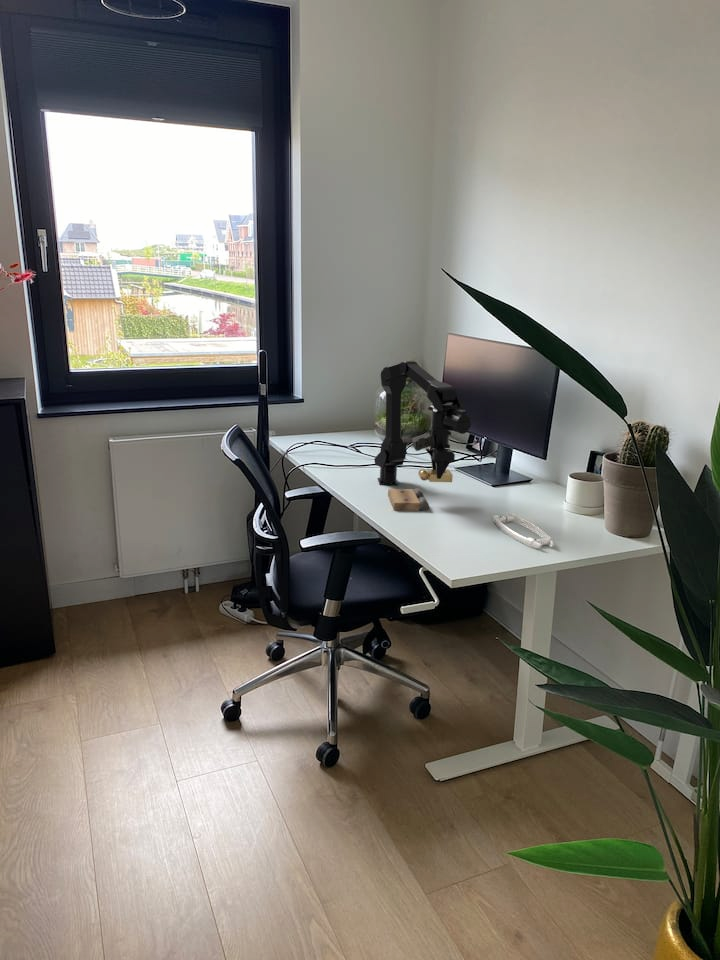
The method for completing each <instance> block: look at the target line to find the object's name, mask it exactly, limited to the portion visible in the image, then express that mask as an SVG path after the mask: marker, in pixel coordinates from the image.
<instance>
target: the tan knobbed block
mask: <svg viewBox="0 0 720 960" xmlns="http://www.w3.org/2000/svg"><path fill="white" fill-rule="evenodd" d="M418 476H419V479H421V480H422V481H429V482H430V483H453V476H454V475H453V473H452V472H451V470H450V469H448V468H446V470H445V472H444V473H443V475H442V477H441V478H440V479H437V474H436V469H432V468H426V469H425V468H421V469H419V470H418Z"/></svg>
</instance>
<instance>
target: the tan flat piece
mask: <svg viewBox="0 0 720 960" xmlns="http://www.w3.org/2000/svg"><path fill="white" fill-rule="evenodd" d="M387 497H389V498H388V500H389V502H390V505H391V507H392V509H393V511H417V510H421V511H423V510H424V511H427V510H428V509H429V507H430V504H429V502H428V500H427V498H425V497H424V494H423V492H422V491H421V489H420V488H419V487H415V488H414V489H413V488H388V489H387Z"/></svg>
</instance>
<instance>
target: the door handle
mask: <svg viewBox="0 0 720 960" xmlns="http://www.w3.org/2000/svg"><path fill="white" fill-rule="evenodd" d="M492 521H493V523H494V525H496V526H497V527H498V529H500V530H501V531H502V532H503V533H504V534H506V535H507V536H508V537H511V538H512V539H514V540H515V541H518V542H519V543H521V544H524V545H525V546H526V547H529V548H531V549H532V548H533V550H537V549H540V548H542V546H548V547H549V548H554V547H555V543H554V539H552V537H551V536H550V535H548V534H547V533H546V532H545V531H544V530H543V529H541V528H540V527H538V526H537V525H535V524H533V523H532V522H530V521H528V520H526V519H524V518H522V517H520V516H519V515H517V514H515V513H508V514H507V515H503V516H501V515H498V514H495V515H493V516H492ZM509 522H510V523H511V522H512V523H516V524H518V525H521V526H522V527H525V528H526V529H528V530H530V531H531V532H533V533H535V534H536V535H537V536H538V537H540V538H533V537H531V536H530V537H526V536H524V535H522V534H520V533H518V532H516V531H515V530H513V529H511V528H509V527H508V526H507V525H506V524H504V523H509Z"/></svg>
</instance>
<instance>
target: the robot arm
mask: <svg viewBox="0 0 720 960" xmlns="http://www.w3.org/2000/svg"><path fill="white" fill-rule="evenodd" d="M408 379H411V380H412V382H414V384H416V385H418V386H419V387H420V388H421V389H422V390H423V391H425V393H426V398H427V399H428V400H429V402H430V403H431V405H430V406H428V407H427V410H429V411H431V413H432V414H431V424H430V427H429V428H428V432H427V433H423V434H420V435H417V436H414V437H412V438H411V442H412V445H413V448H414V450H415V451H416V452H418V451H421V450H424V449H425V451H426V452H427V453H428V455H430V456H429V457H430V461H431V469H436V474H437V479H440V478H441V477H442V475H443V473H444V472H445V470H446V469H448V467H449V464H450V463H451V462H454V461H455V460H456V459H455V458H456V454H455V452H453V451H452V449H450V448H451V444H450V436H451V435H452V432H454V433H457V434H461V435H465V434H466V433H467V432H469V430H470V428H471V426H472V421H471V418H470V416H469V415H468V413H467V410H463V408H462V405H461V402H460V399H459V396H458V394H457V391H456V389H455V387H454V386H453V385H451V384H449V383H446V382H443V381H439V380H438V379H436V378H435V377H433V376H432V375H431V374H430V373H428V372H427V371H426V370H425V369H424V368H423V367H421V366H420V365H419V364H418V362H417V361H415V360H405V361H404V360H403V361H401V362H400V363H398V364H394V365H391V366H384V367H383V369H382V370H381V372H380V381H381V382H380V383H381V387H382V389H383V391H384V392H385V399H386V400H385V437H384V439H383V441H382V442H381V443H380V452H378V454H377V455H376V456H375V457H374V465H375V466H378V467H380V469H379V477H377V482H378V484H379V485H380V486H381V485H387V486H388V485H391V486H392V485H393V486H398V485H399V481H398V478H397V474H398V473H397V472H398V466H403V465H404V461H405V459H406V457H407V454H408V452H407V445H408V444H407V441H404V440H403V438H402V436H401V435H402V434H401V433H402V432H401V431H402V428H401V427H402V393H403V391H404V390H405V388H406V386H407V382H408V381H407V380H408Z"/></svg>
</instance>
